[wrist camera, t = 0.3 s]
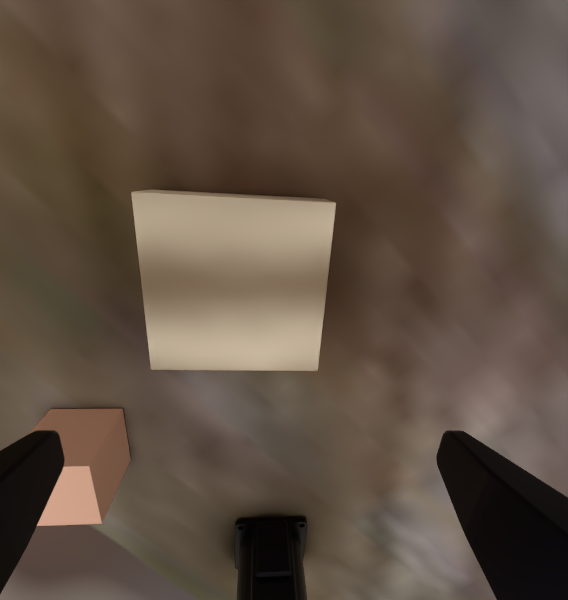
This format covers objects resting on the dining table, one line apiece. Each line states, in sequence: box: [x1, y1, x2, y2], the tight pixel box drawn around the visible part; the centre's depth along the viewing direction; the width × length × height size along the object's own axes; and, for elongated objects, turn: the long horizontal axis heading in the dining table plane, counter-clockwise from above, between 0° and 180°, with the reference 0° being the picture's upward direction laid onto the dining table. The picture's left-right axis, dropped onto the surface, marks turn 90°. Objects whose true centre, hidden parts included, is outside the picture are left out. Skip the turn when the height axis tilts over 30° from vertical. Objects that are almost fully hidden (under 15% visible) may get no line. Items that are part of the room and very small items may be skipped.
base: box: [131, 189, 336, 371], centre depth 19 cm, size 10×10×3 cm
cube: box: [29, 409, 131, 526], centre depth 22 cm, size 5×5×5 cm
